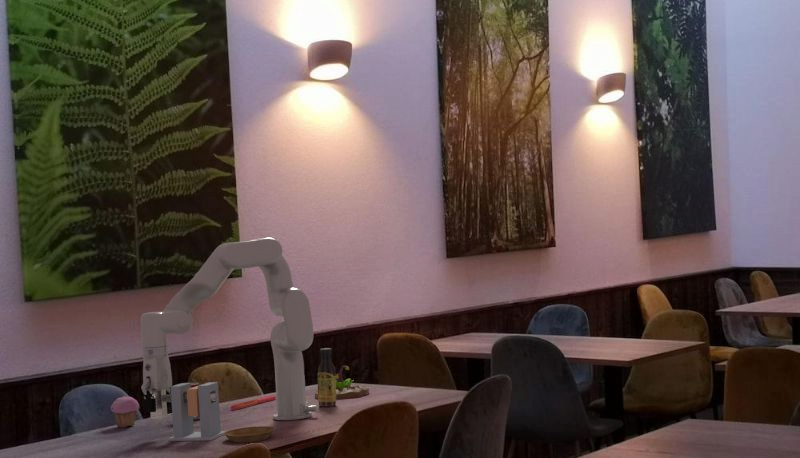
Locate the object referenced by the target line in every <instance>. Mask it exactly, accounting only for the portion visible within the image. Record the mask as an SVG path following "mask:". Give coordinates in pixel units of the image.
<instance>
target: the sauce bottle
mask: <svg viewBox="0 0 800 458" xmlns="http://www.w3.org/2000/svg"><path fill="white" fill-rule="evenodd" d="M332 353H333V349H332V348H331V347H324V348H320V349H319V354H320V363H319V365H318V370H317V390H318V399H317V402H318V406H319V407H321V408H329V407H334V406H336V404H337V399H336V376H335V373H336V366H334V364H333V361H332V360H333V359H332Z"/></svg>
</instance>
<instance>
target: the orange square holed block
mask: <svg viewBox="0 0 800 458" xmlns="http://www.w3.org/2000/svg"><path fill="white" fill-rule="evenodd" d="M187 400H188V416H199V415H200V412H199V395H198V386H196V387H193V388H190V389H187Z"/></svg>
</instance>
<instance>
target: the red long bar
mask: <svg viewBox="0 0 800 458" xmlns="http://www.w3.org/2000/svg"><path fill="white" fill-rule="evenodd" d="M274 400H277V397H276V395H274V394H271V395H268V396H263V397H258V398H255V399H252V400H247V401H242V402H238V403H236V404H233V405H230V410H231V411H236V410H240V409H244V408H248V407H251V406H255V405H260V404H263V403H268V402H271V401H274Z"/></svg>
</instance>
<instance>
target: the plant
mask: <svg viewBox="0 0 800 458" xmlns="http://www.w3.org/2000/svg"><path fill="white" fill-rule="evenodd" d="M344 369H345V370H346V371H349V370H350V367H349V366H348V365H342V366H341V368H340V369H339V373H336V372H335V376H336V400H347V399H357V398H362V397H365V396H368V395H369V393H370V389H369V387H366V386H365V385H364V386H363V385H355V384H352V383H354V381H355V380H354V379H353V380H352V379H351V378H349V377H348V378H347V379H345V380H344V379H343V370H344ZM314 399H315V400H318V389H317V390H316V392H315V394H314Z"/></svg>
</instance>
